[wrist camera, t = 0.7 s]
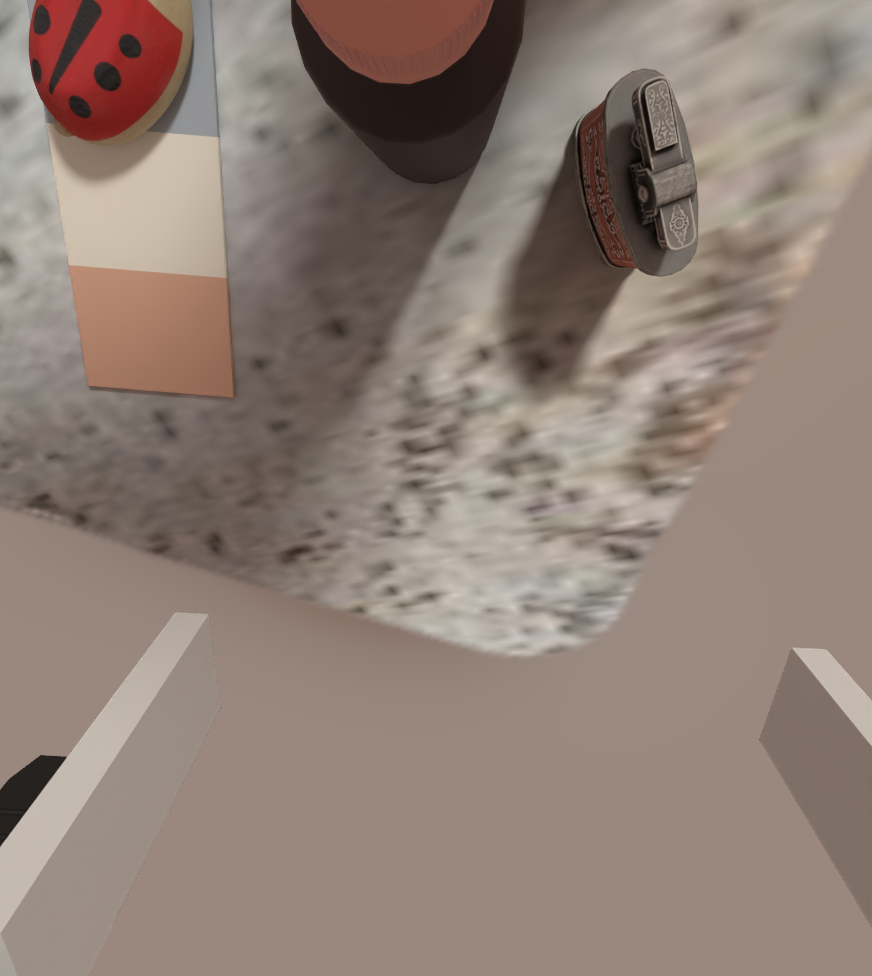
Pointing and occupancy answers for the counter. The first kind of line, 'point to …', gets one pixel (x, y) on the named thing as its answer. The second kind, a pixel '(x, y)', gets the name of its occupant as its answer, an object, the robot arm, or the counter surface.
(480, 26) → the bottle
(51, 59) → the ladybug figurine
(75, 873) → the robot arm
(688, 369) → the counter surface
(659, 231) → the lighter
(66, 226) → the track
